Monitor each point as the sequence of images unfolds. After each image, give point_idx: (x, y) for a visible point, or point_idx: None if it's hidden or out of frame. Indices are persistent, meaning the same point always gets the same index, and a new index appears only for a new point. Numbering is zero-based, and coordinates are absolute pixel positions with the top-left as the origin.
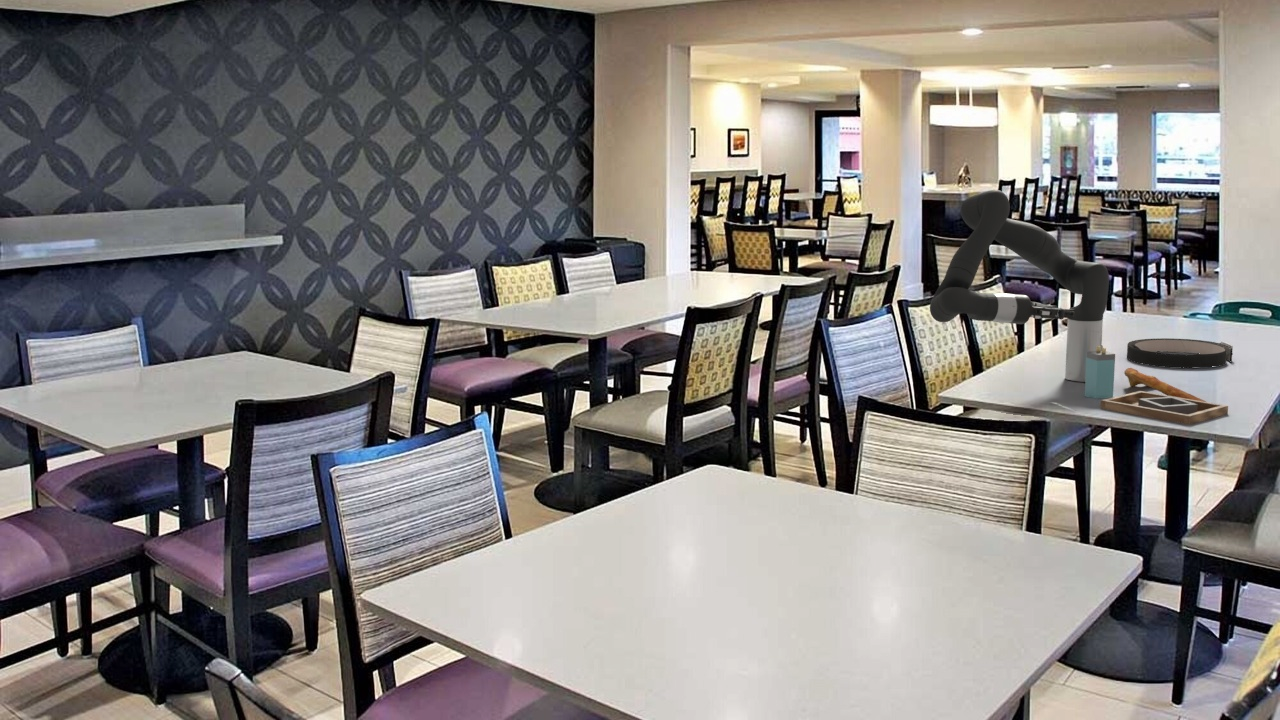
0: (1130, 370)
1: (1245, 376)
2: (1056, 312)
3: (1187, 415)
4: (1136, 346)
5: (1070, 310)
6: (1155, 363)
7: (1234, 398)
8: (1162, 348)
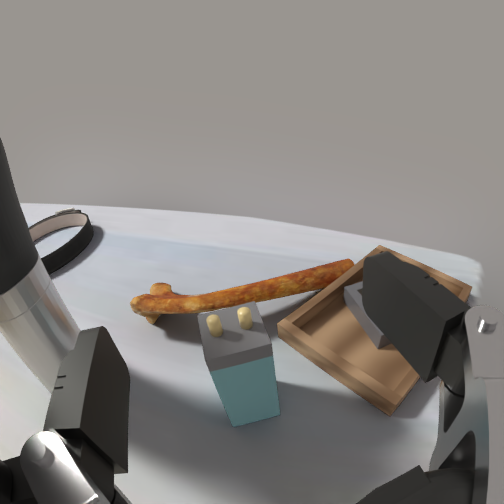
0: (169, 303)
1: (143, 220)
2: (124, 366)
3: (469, 288)
4: None
5: (410, 275)
6: (55, 267)
7: (260, 238)
8: None
